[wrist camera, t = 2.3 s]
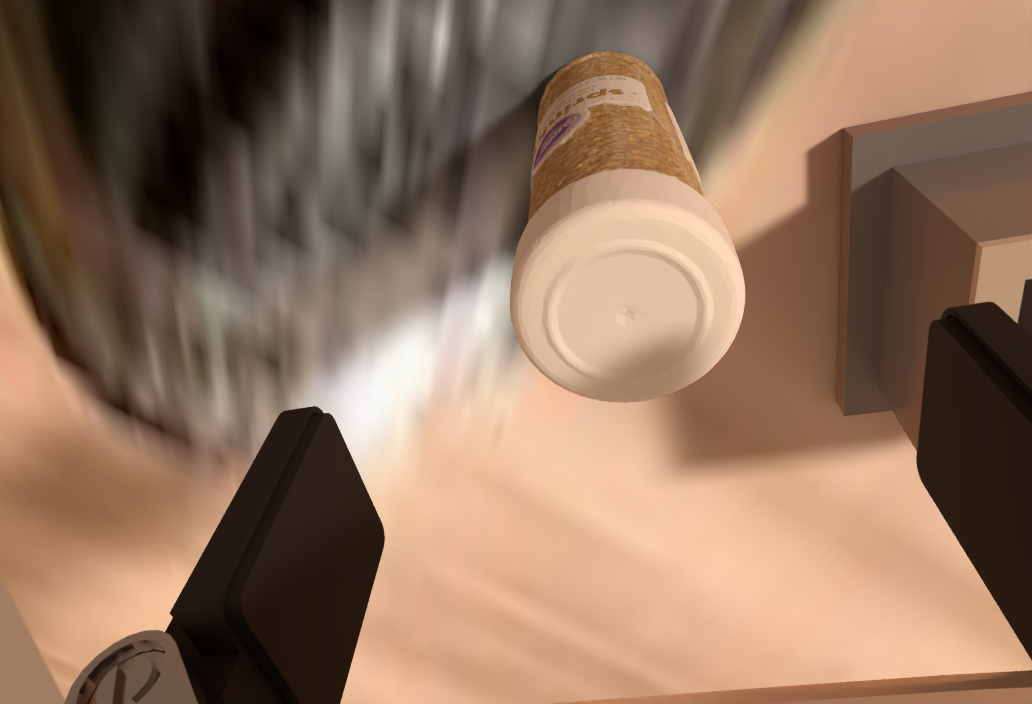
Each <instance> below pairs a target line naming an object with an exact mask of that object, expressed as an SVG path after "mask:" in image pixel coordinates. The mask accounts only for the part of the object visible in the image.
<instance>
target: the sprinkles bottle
mask: <svg viewBox="0 0 1032 704" xmlns="http://www.w3.org/2000/svg"><path fill="white" fill-rule="evenodd" d="M744 306H745V283H744V277H743V272H742V268H741V265H740V262H739V259H738V256H737V253H736V251H735V248H734V245H733V243H732V240H731V238H730V236H729V233H728V231H727V229H726V227H725V225H724V223H723V221H722V219H721V217H720V215H719V214H718V212H717V211H716V209H715V208H714V207H713V206H712V205H711V204H710V202H709V201H708V200H707V199H706V198H704V196H703V191H702V185H701V181H700V177H699V174H698V171H697V169H696V166H695V164H694V162H693V159H692V157H691V154H690V152H689V150H688V147H687V145H686V143H685V140H684V138H683V135H682V133H681V130H680V128H679V126H678V124H677V122H676V119H675V117H674V115H673V113H672V111H671V109H670V107H669V106H668V102H667V98H666V96H665V93H664V90H663V86H662V84H661V82H660V81H659V79H658V78H657V77H656V75H655V74H654V72H653V71H652V70H651V69H650V68H649V67H648V66H647V65H646V64H645V63H644V62H642V61H640V60H639V59H637V58H635V57H632V56H630V55H627V54H624V53H616V52H612V51H599V52H593V53H589V54H586V55H583V56H581V57H579V58H577V59H575V60H574V61H572V62H571V63H568V64H567V65H566V66H565V67H563V68H561V69H560V70H559V71H558V72H557V73H556V74H555V76H554V77H553V78H552V79H551V80H550V81H549V83H548V85H547V87H546V89H545V91H544V93H543V95H542V98H541V102H540V105H539V111H538V132H537V136H536V141H535V149H534V156H533V164H532V171H531V197H530V205H529V217H528V224H527V226H526V228H525V230H524V232H523V234H522V236H521V239H520V241H519V243H518V247H517V251H516V255H515V260H514V267H513V273H512V280H511V291H510V314H511V321H512V325H513V328H514V331H515V334H516V337H517V340H518V342H519V344H520V346H521V348H522V350H523V351H524V353H525V354H526V356H527V357H528V358H529V360H530V361H531V362H532V364H533V365H534V366H535V367H536V368H537V369H538V370H539V371H540V372H541V373H542V374H543V375H545V376H546V377H547V378H549V379H550V380H551V381H552V382H554V383H555V384H557V385H559V386H561V387H562V388H564V389H566V390H568V391H570V392H573V393H575V394H578V395H580V396H583V397H587V398H591V399H595V400H600V401H608V402H624V403H625V402H639V401H645V400H650V399H654V398H658V397H662V396H665V395H669V394H671V393H673V392H676V391H678V390H681V389H682V388H684V387H686V386H688V385H690V384H691V383H693V382H695V381H696V380H698V379H699V378H701V377H702V376H703V375H705V374H706V373H707V372H708V371H710V370H711V369H712V368H713V367H714V366H715V365H716V363H717V362H718V361H719V360H720V359H721V358H722V357H723V356H724V354H725V353H726V352H727V350H728V349H729V347H730V345H731V344H732V342H733V340H734V339H735V337H736V334H737V332H738V330H739V327H740V324H741V321H742V317H743V312H744Z"/></svg>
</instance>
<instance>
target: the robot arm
mask: <svg viewBox="0 0 1032 704" xmlns="http://www.w3.org/2000/svg"><path fill="white" fill-rule="evenodd" d="M917 469H918V473H919V476H920V478H921V481H922V483H923V485H924V486H925V488H926V489H927V491H928V493H929V494H930V496H931V498H932V499H933V501H934V502H935V504H936V506H937V507H938V509H939V510H940V512H941V514H942V515H943V517H944V519H945V520H946V522H947V523H948V525H949V527H950V528H951V530H952V532H953V533H954V535H955V536H956V538H957V540H958V541H959V543H960V545H961V546H962V548H963V549H964V551H965V553H966V554H967V556H968V558H969V559H970V561H971V562H972V564H973V566H974V567H975V569H976V571H977V572H978V574H979V575H980V577H981V579H982V580H983V582H984V584H985V585H986V587H987V588H988V590H989V592H990V593H991V595H992V596H993V598H994V600H995V601H996V603H997V605H998V606H999V608H1000V609H1001V611H1002V613H1003V614H1004V616H1005V618H1006V619H1007V621H1008V622H1009V624H1010V626H1011V627H1012V629H1013V631H1014V632H1015V634H1016V635H1017V637H1018V639H1019V640H1020V642H1021V644H1022V645H1023V647H1024V648H1025V650H1026V652H1027V653H1028V655H1029V657H1030V658H1031V660H1032V337H1031V336H1030V335H1029V334H1028V333H1027V332H1026V331H1025V330H1024V329H1023V328H1022V327H1021V326H1019V325H1018V324H1017V323H1016V322H1015V321H1014V320H1013V319H1012V318H1011V317H1010V316H1009V315H1008V314H1007V313H1006V312H1004V311H1003V310H1002V309H1001V308H1000V307H999V306H998V305H997V304H995V303H994V302H982V303H976V304H969V305H963V306H957V307H950V308H947V309H945V310H944V312H943V314H942V316H941V319H937V320H933V321H932V322H931V324H930V327H929V333H928V344H927V354H926V365H925V375H924V385H923V396H922V406H921V416H920V427H919V437H918V447H917ZM384 540H385V536H384V529H383V525H382V522H381V520H380V518H379V516H378V514H377V511H376V509H375V507H374V505H373V503H372V500H371V498H370V496H369V494H368V492H367V489H366V487H365V485H364V483H363V481H362V479H361V476H360V474H359V472H358V470H357V468H356V465H355V463H354V461H353V459H352V457H351V454H350V452H349V450H348V448H347V446H346V443H345V441H344V439H343V437H342V435H341V432H340V430H339V428H338V426H337V424H336V421H335V419H334V418H333V416H332V415H331V414H329V413H323V412H322V410H321V409H320V408H318V407H315V406H313V407H307V408H300V409H294V410H287V411H284V412H282V413H281V414H280V415H279V416H278V418H277V420H276V422H275V423H274V425H273V427H272V429H271V431H270V432H269V434H268V436H267V438H266V440H265V442H264V443H263V445H262V447H261V449H260V451H259V452H258V454H257V456H256V458H255V460H254V461H253V463H252V465H251V467H250V469H249V470H248V472H247V474H246V476H245V478H244V480H243V481H242V483H241V485H240V487H239V489H238V490H237V492H236V494H235V496H234V498H233V499H232V501H231V503H230V505H229V507H228V508H227V510H226V512H225V514H224V516H223V518H222V519H221V521H220V523H219V525H218V527H217V528H216V530H215V532H214V534H213V536H212V537H211V539H210V541H209V543H208V545H207V547H206V548H205V550H204V552H203V554H202V556H201V557H200V559H199V561H198V563H197V565H196V566H195V568H194V570H193V572H192V574H191V575H190V577H189V579H188V581H187V583H186V585H185V586H184V588H183V590H182V592H181V594H180V595H179V597H178V599H177V601H176V603H175V604H174V606H173V608H172V610H171V612H170V614H171V615H172V617H173V619H172V620H171V622H170V624H169V626H168V628H167V630H166V631H165V632H163V631H160V630H148V631H142V632H139V633H136V634H132V635H129V636H127V637H125V638H123V639H122V640H120V641H118V642H116V643H114V644H112V645H111V646H110V647H108V648H107V649H106V650H104V651H103V652H102V653H100V654H99V655H97V656H96V657H95V658H94V659H93V660H92V661H91V662H90V663H89V664H88V665H87V666H86V667H85V668H84V669H83V670H82V672H81V673H80V675H79V676H78V678H77V679H76V680H75V682H74V683H73V685H72V686H71V688H70V691H69V693H68V696H67V698H66V700H65V704H340V702H341V699H342V695H343V691H344V688H345V684H346V681H347V677H348V673H349V670H350V666H351V663H352V659H353V655H354V652H355V648H356V645H357V641H358V637H359V634H360V630H361V627H362V623H363V619H364V616H365V612H366V609H367V605H368V602H369V598H370V594H371V591H372V587H373V584H374V580H375V576H376V573H377V569H378V566H379V562H380V558H381V555H382V551H383V548H384ZM553 704H1032V670H1031V671H1013V672H994V673H976V674H957V675H940V676H926V677H912V678H897V679H883V680H869V681H854V682H840V683H826V684H811V685H797V686H783V687H768V688H754V689H740V690H726V691H713V692H699V693H686V694H672V695H659V696H645V697H632V698H619V699H606V700H592V701H579V702H566V703H553Z"/></svg>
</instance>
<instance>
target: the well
mask: <svg viewBox="0 0 1032 704" xmlns="http://www.w3.org/2000/svg"><path fill="white" fill-rule="evenodd" d="M982 302H994V303H995V304H997V305H998V306H999V307H1000V308H1001V309H1002V310H1003V311H1004V312H1006V313H1007V314H1008V315H1009V316H1010V317H1011V318H1012V319H1013V320H1014V321H1015V322H1016V323H1017V324H1018V325H1019V326H1021V327H1022V328H1023V329H1024V330H1025V331H1026V332H1027V333H1028V334H1029V335H1030V336H1031V337H1032V92H1027V93H1022V94H1017V95H1012V96H1007V97H1002V98H996V99H991V100H986V101H981V102H976V103H971V104H966V105H960V106H955V107H950V108H945V109H940V110H935V111H930V112H925V113H919V114H914V115H909V116H904V117H899V118H894V119H889V120H884V121H878V122H873V123H868V124H863V125H858V126H853V127H848V128H843V159H842V200H841V241H840V282H839V323H838V364H837V403H838V405H839V407H840V409H841V411H842V413H843V415H844V416H849V415H857V414H865V413H873V412H881V411H889V410H892V411H893V412H894V414H895V416H896V417H897V419H898V421H899V422H900V424H901V426H902V427H903V429H904V431H905V432H906V434H907V436H908V437H909V439H910V441H911V442H912V444H913V446H914V447H915V449H916V451H917V447H918V437H919V427H920V416H921V406H922V396H923V385H924V375H925V365H926V354H927V344H928V333H929V327H930V324H931V322H932V321H933V320H937V319H941V316H942V314H943V312H944V310H945V309H947V308H950V307H957V306H963V305H969V304H976V303H982Z"/></svg>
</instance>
